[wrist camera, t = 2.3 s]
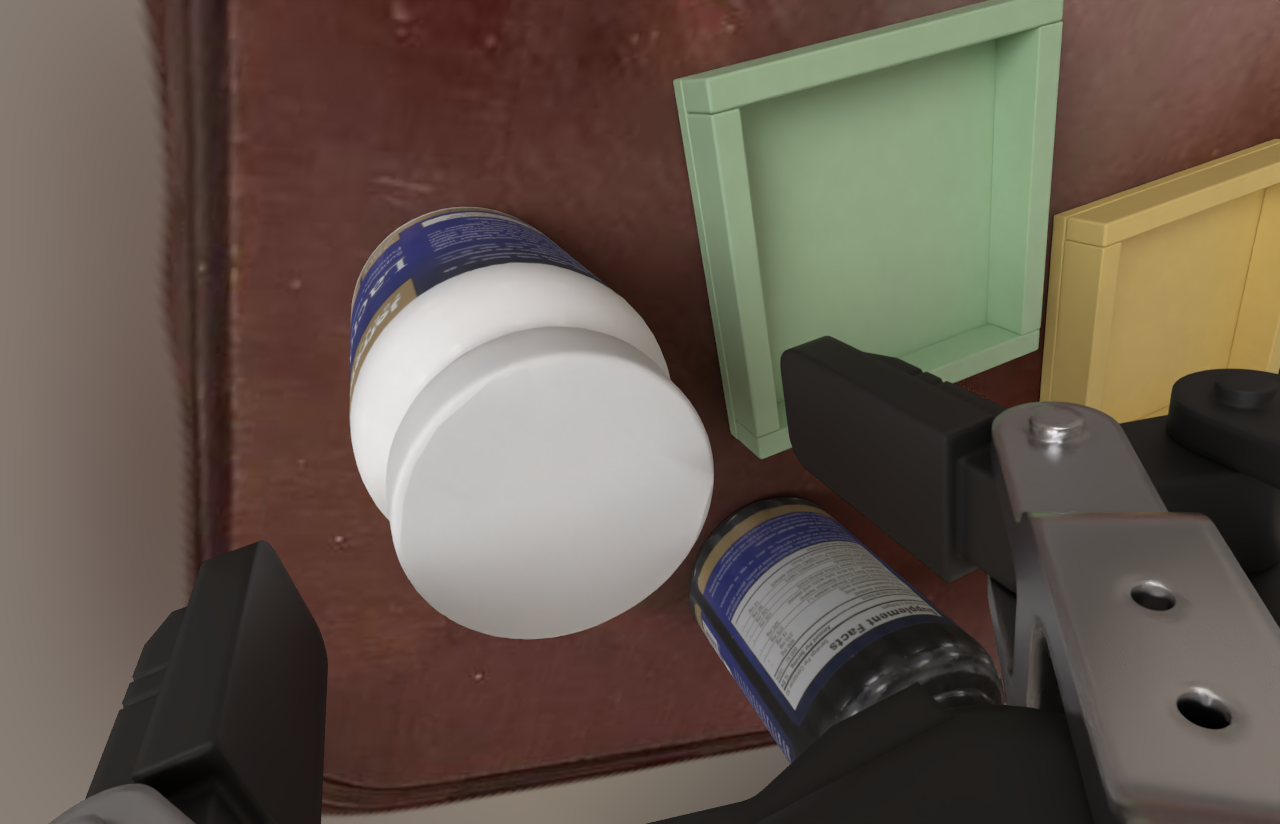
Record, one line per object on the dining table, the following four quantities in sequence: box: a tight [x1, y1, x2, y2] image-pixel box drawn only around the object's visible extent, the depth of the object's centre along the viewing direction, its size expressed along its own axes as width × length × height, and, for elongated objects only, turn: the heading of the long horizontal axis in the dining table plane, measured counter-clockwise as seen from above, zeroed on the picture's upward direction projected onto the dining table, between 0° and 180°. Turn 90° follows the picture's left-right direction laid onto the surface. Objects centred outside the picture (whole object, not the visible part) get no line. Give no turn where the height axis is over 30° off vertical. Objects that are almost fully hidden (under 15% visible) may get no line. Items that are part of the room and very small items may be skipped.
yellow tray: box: [1040, 139, 1280, 423], centre depth 27 cm, size 11×11×2 cm
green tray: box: [673, 0, 1064, 459], centre depth 21 cm, size 11×11×2 cm
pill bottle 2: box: [689, 497, 1004, 764], centre depth 21 cm, size 6×6×11 cm
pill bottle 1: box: [350, 207, 714, 639], centre depth 14 cm, size 6×6×10 cm
